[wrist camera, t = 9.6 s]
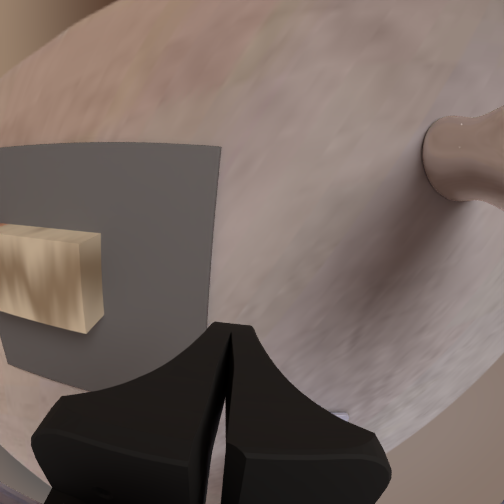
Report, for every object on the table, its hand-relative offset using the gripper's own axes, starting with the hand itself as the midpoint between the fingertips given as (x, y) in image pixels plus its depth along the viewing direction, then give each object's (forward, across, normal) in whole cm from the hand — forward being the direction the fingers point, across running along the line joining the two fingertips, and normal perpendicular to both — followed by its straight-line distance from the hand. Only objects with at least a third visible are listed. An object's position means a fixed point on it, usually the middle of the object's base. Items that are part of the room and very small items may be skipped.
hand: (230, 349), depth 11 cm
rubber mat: (+10, +12, +3) cm, 16 cm away
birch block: (+8, +10, +2) cm, 13 cm away
